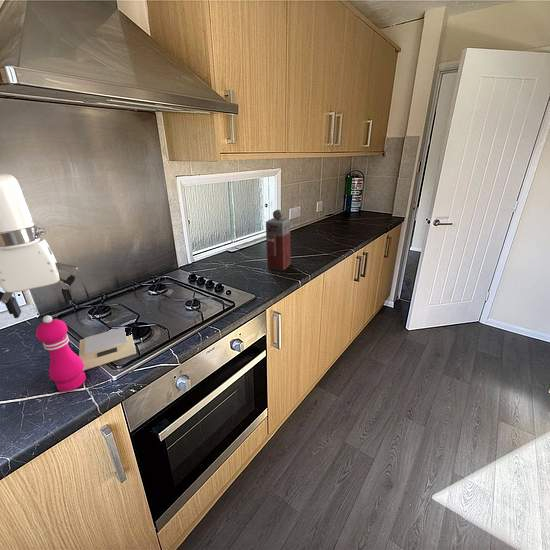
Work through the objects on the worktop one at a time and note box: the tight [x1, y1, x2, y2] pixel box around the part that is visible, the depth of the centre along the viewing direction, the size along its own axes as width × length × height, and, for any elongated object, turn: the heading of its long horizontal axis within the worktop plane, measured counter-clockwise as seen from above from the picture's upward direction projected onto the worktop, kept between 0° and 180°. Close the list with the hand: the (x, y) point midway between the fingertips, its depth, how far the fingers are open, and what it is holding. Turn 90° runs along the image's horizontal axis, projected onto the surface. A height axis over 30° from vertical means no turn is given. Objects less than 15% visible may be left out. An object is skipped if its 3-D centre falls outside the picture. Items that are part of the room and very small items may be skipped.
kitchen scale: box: [78, 326, 137, 372], centre depth 87 cm, size 14×13×3 cm
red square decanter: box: [265, 209, 292, 271], centre depth 140 cm, size 9×11×28 cm
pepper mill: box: [35, 314, 87, 393], centre depth 72 cm, size 7×7×20 cm
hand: (44, 309), depth 67 cm, fingers open, 9 cm apart
